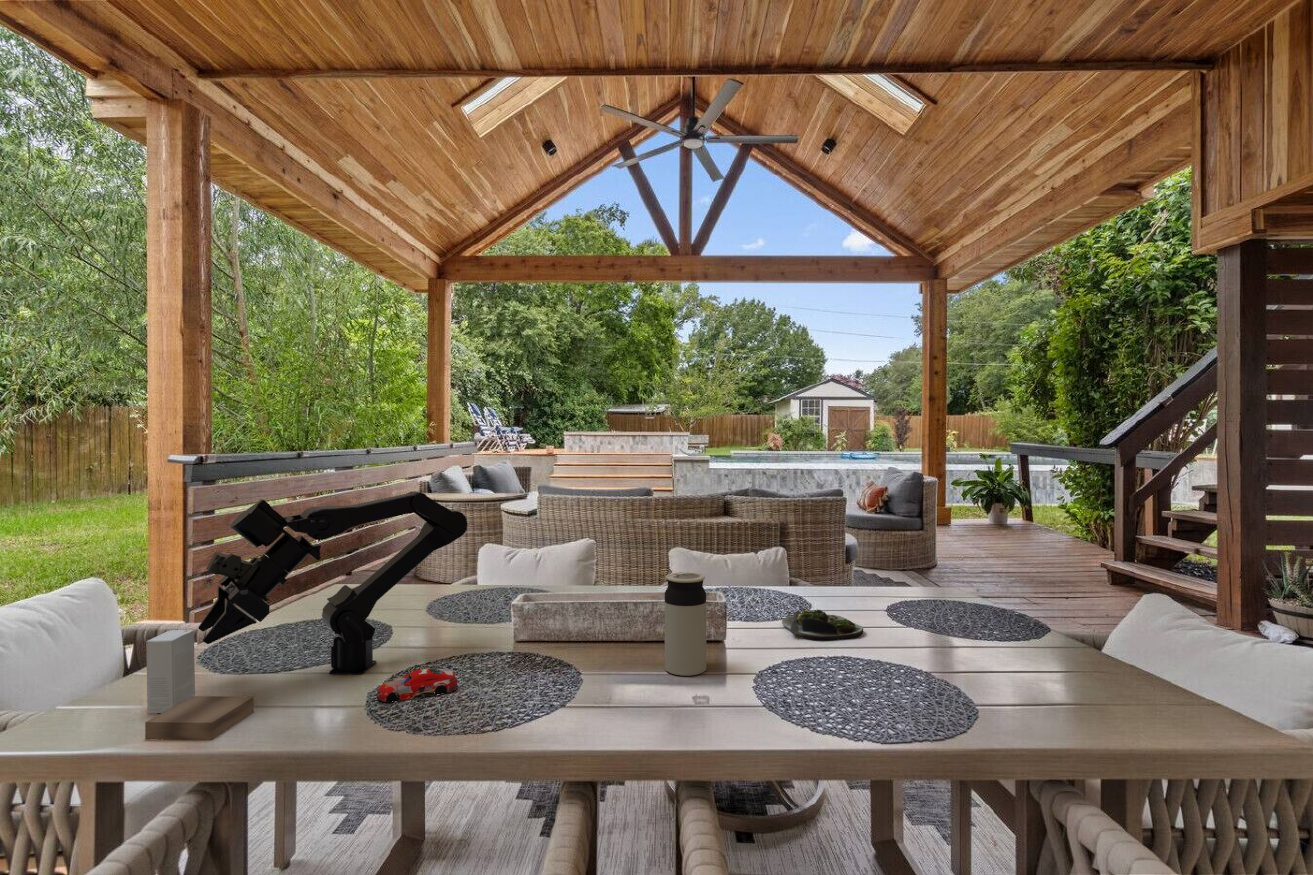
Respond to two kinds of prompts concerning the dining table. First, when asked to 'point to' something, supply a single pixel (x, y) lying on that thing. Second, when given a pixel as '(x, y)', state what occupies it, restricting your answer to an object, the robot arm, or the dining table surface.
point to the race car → (418, 685)
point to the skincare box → (170, 670)
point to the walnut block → (199, 718)
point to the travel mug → (685, 624)
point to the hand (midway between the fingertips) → (202, 635)
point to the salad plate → (821, 626)
